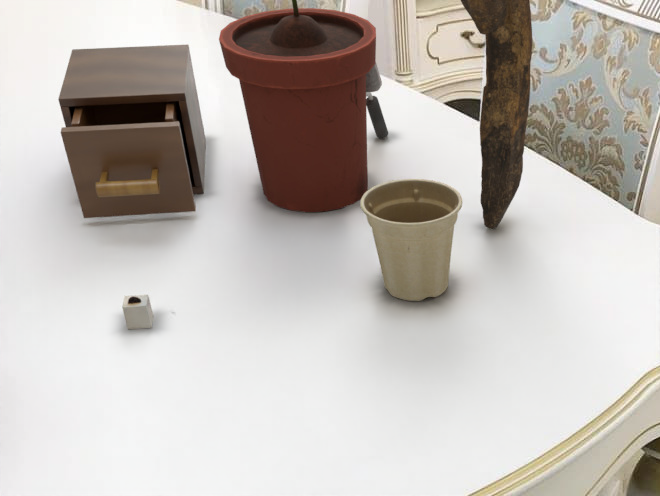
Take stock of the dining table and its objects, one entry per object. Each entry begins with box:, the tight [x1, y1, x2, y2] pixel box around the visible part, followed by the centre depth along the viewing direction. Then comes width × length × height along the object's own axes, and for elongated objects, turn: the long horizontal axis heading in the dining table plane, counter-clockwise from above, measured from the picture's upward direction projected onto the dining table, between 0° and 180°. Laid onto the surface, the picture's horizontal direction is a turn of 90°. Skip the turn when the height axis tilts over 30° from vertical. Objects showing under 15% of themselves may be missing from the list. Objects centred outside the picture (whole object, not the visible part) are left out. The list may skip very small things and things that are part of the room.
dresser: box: [57, 44, 207, 195], centre depth 122 cm, size 15×13×11 cm
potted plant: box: [218, 0, 389, 213], centre depth 116 cm, size 18×22×25 cm
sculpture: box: [460, 0, 533, 230], centre depth 106 cm, size 7×7×30 cm
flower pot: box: [359, 178, 463, 302], centre depth 105 cm, size 9×9×9 cm
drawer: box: [60, 101, 197, 219], centre depth 116 cm, size 18×11×9 cm, turn 10°
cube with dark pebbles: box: [121, 294, 154, 330], centre depth 102 cm, size 2×2×2 cm
